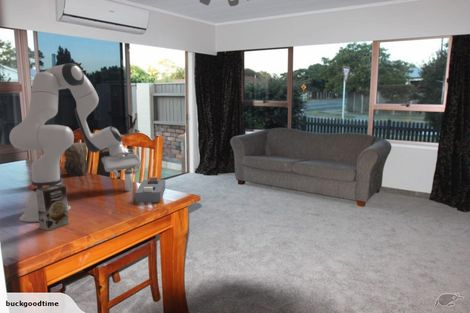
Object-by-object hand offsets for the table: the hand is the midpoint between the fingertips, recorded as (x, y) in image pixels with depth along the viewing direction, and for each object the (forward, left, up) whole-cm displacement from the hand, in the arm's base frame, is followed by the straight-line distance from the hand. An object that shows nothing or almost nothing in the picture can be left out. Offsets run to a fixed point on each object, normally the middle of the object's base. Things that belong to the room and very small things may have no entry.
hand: (127, 175), depth 195 cm
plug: (-1, -1, -8) cm, 8 cm away
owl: (+39, +39, -8) cm, 56 cm away
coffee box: (-51, +19, -8) cm, 55 cm away
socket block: (-11, -14, -8) cm, 20 cm away
